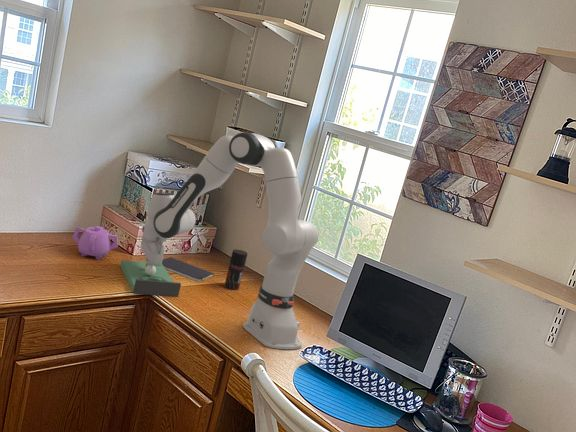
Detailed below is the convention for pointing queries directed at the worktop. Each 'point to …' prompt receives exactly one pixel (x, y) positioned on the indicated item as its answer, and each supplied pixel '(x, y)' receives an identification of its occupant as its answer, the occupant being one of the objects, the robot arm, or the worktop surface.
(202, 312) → the worktop surface
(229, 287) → the deodorant
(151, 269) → the ball
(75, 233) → the pot
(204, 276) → the notebook
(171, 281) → the green
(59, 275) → the worktop surface
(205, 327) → the worktop surface
